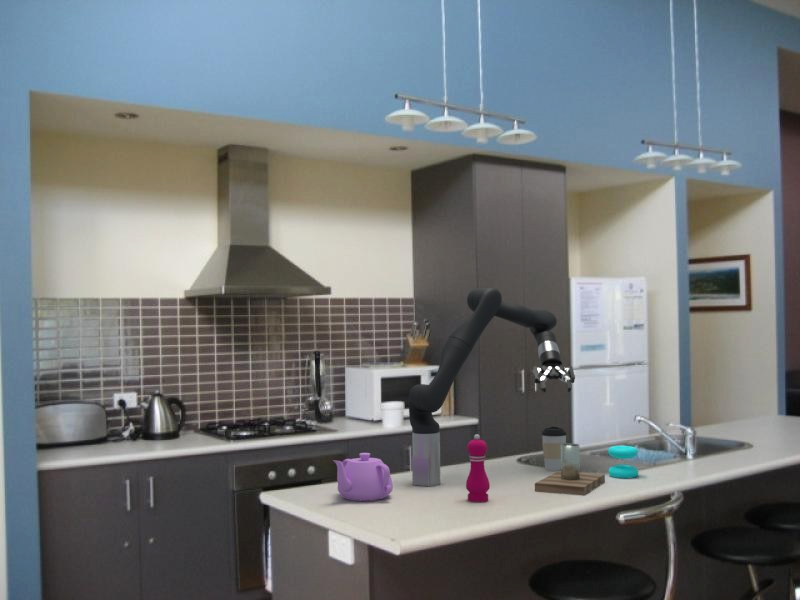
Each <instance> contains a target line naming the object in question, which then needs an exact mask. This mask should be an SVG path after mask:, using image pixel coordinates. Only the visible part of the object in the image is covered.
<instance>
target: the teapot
mask: <svg viewBox="0 0 800 600" xmlns="http://www.w3.org/2000/svg"><path fill="white" fill-rule="evenodd" d="M358 455H359V457H357V458H346V459H343V460H342V461H340V460H336V459H335V460H334V459H332V462H334V463H335V464H336V469H337V473H336V475H337V476H336V480H337V492H338V493H339V494H340V495H341V497H343V498H344V499H345V500H348V501H349V500H350V501H359V502H360V501H361V502H370V501H377V500H381V499H385V498H387V497H389V495H390V494H391V493H392V491H393V488H394V485H393V478H392V477H391V472H390V467H389V466H388V465H387V464H385V463H384V462H383V460H381V458H376V457H371V453H369V452H360V453H359V454H358Z"/></svg>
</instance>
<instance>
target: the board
mask: <svg viewBox="0 0 800 600" xmlns="http://www.w3.org/2000/svg"><path fill="white" fill-rule="evenodd" d="M605 482H606V475H605V474H603V473H590V472H580V479H579V480H563V479H561V470H560V471H555V472H553V473H551V474H550V475H548V476H546V477H544V478H542V479H540V480H538V481H536V482H535V483H534V491H535V492H541V493H542V492H543V493H551V494H552V493H554V494H562V493H563V494H566V495H577V496H586V495H587V494H588V493H591V492H592V491H593V490H595V489H596V488H598V487H599V486H600V484H601V485H602V484H604V483H605ZM597 486H598V487H597ZM594 488H595V489H594ZM591 490H592V491H591Z"/></svg>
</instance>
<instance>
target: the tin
mask: <svg viewBox="0 0 800 600" xmlns="http://www.w3.org/2000/svg"><path fill="white" fill-rule="evenodd" d="M580 447H581V446H580V444H578V443H570V442H566V443H564V444H561V470H560V471H561V479H563V480H579V479H580V473H581V470H580V469H581V467H580V466H581V465H580V463H581V462H580V457H581V455H580Z"/></svg>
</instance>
